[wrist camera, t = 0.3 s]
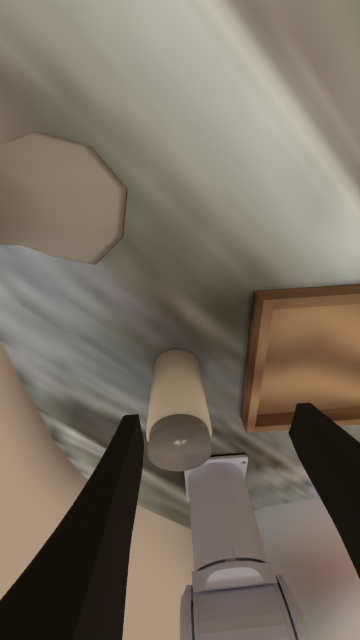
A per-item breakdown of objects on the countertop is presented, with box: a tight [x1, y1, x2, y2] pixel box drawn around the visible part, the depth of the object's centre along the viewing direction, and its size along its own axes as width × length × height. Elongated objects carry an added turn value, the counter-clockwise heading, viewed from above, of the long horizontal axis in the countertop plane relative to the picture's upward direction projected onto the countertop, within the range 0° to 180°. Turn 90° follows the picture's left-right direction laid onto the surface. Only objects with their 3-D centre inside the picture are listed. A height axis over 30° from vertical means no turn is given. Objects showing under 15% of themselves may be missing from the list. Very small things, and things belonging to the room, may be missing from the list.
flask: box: [0, 132, 127, 264], centre depth 10 cm, size 7×7×10 cm
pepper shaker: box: [146, 349, 212, 471], centre depth 17 cm, size 4×4×8 cm
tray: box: [241, 284, 360, 433], centre depth 20 cm, size 15×15×2 cm
